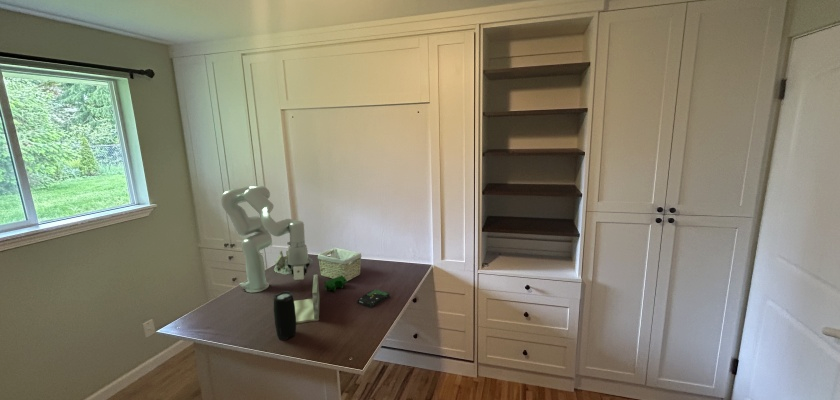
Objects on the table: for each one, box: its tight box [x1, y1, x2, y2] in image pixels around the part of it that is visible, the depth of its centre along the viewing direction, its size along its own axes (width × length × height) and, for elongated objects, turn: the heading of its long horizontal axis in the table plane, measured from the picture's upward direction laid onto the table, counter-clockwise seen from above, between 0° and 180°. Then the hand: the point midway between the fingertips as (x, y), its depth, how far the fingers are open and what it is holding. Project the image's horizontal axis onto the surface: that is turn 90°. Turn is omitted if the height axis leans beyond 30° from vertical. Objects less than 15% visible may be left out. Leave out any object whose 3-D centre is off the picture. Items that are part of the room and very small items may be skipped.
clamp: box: [324, 276, 348, 293], centre depth 195 cm, size 12×6×9 cm, turn 128°
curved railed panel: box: [294, 273, 321, 325], centre depth 169 cm, size 19×22×14 cm
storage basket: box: [317, 247, 362, 282], centre depth 213 cm, size 24×16×15 cm
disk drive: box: [356, 288, 391, 309], centre depth 182 cm, size 10×3×15 cm
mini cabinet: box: [293, 264, 305, 281], centre depth 185 cm, size 5×10×7 cm, turn 16°
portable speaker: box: [272, 290, 297, 341], centre depth 148 cm, size 9×9×20 cm
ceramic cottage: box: [273, 248, 293, 275], centre depth 222 cm, size 16×16×15 cm
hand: (299, 274), depth 186 cm, fingers closed on mini cabinet, 5 cm apart
